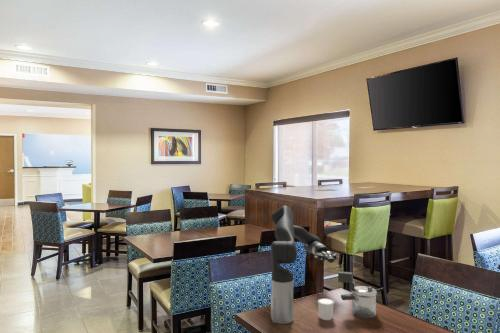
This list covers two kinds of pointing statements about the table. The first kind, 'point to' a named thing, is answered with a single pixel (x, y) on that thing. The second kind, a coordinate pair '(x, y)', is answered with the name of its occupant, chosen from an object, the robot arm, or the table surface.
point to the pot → (362, 305)
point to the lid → (356, 290)
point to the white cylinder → (325, 308)
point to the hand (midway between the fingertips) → (331, 260)
